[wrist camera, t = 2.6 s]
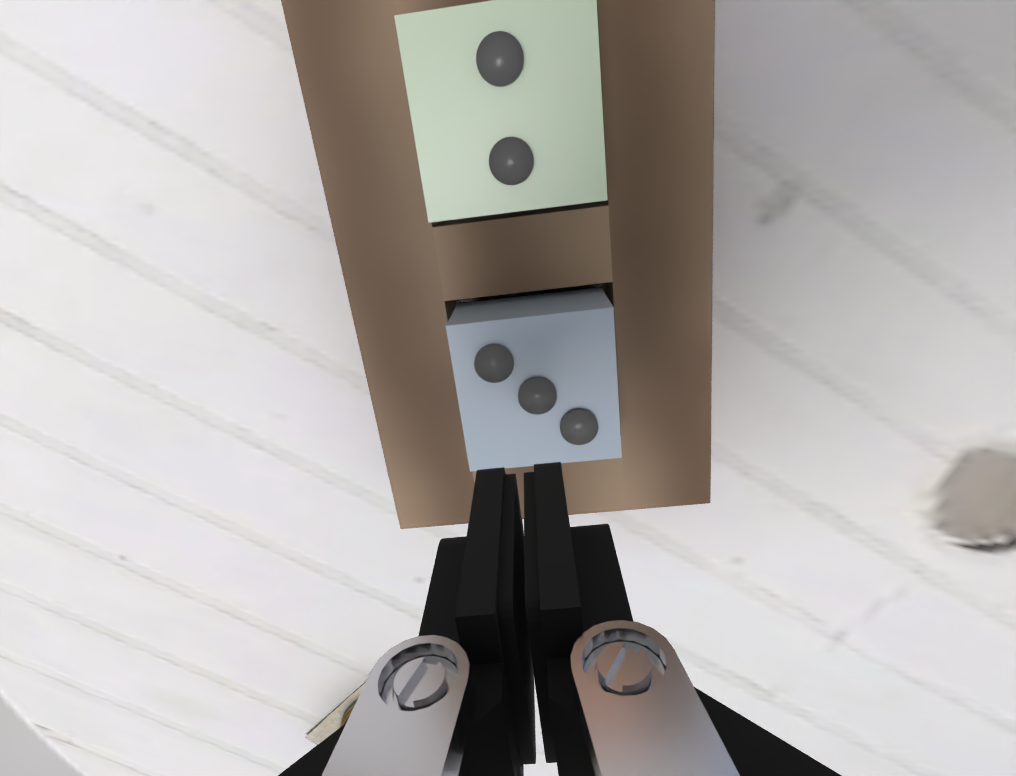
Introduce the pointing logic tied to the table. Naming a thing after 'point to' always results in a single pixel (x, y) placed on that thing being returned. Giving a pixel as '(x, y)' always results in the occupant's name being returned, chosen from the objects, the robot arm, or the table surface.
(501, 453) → the button three dots
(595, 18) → the button two dots
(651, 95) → the button board
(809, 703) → the table surface
